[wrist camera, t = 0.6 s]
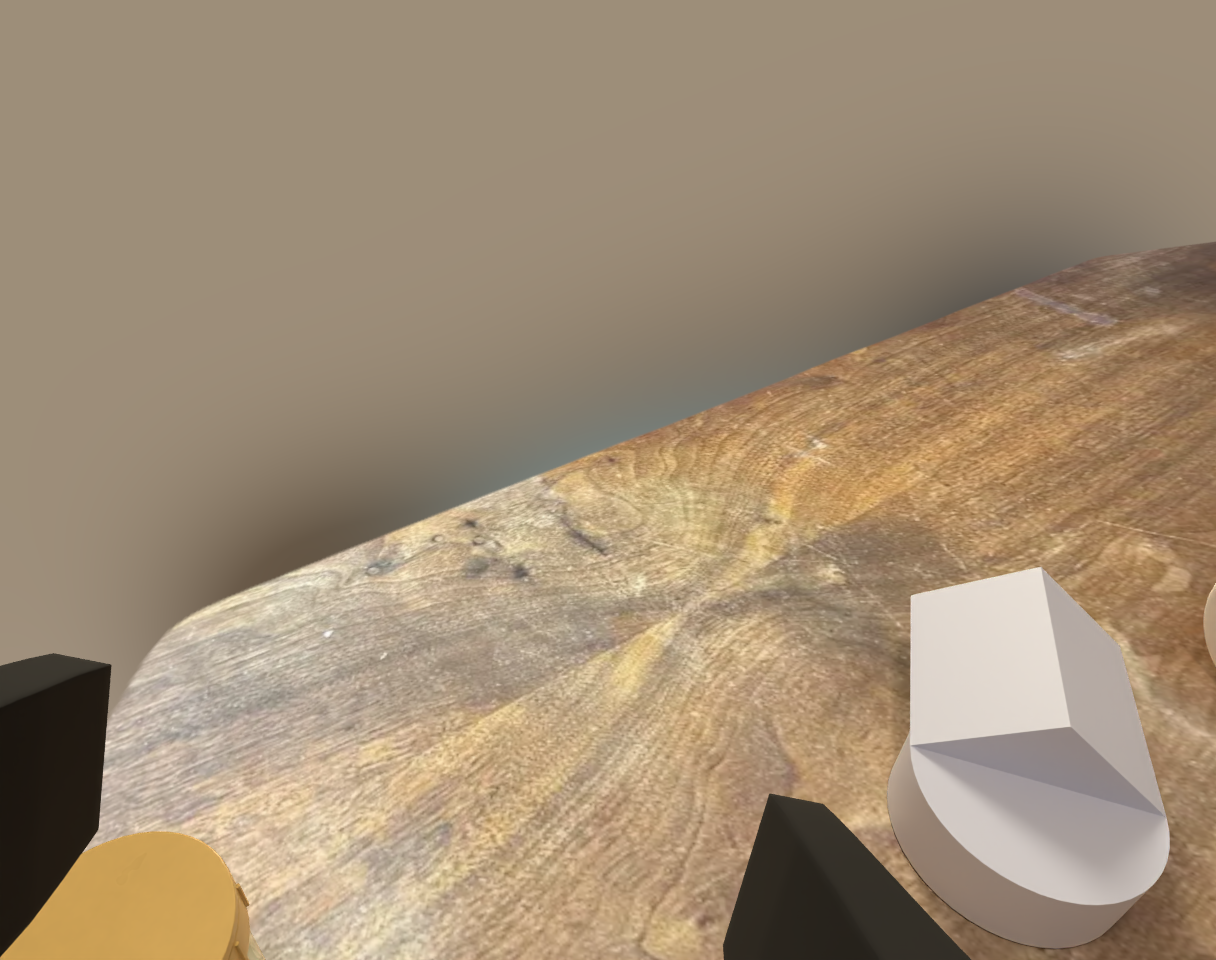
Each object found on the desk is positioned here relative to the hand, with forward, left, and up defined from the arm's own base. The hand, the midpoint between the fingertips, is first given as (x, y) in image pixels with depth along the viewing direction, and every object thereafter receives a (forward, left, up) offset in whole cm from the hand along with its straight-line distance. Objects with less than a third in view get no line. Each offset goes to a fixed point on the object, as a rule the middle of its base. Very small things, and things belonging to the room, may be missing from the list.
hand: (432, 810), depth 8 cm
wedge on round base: (+17, -17, -22) cm, 32 cm away
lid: (+2, +10, -14) cm, 18 cm away
